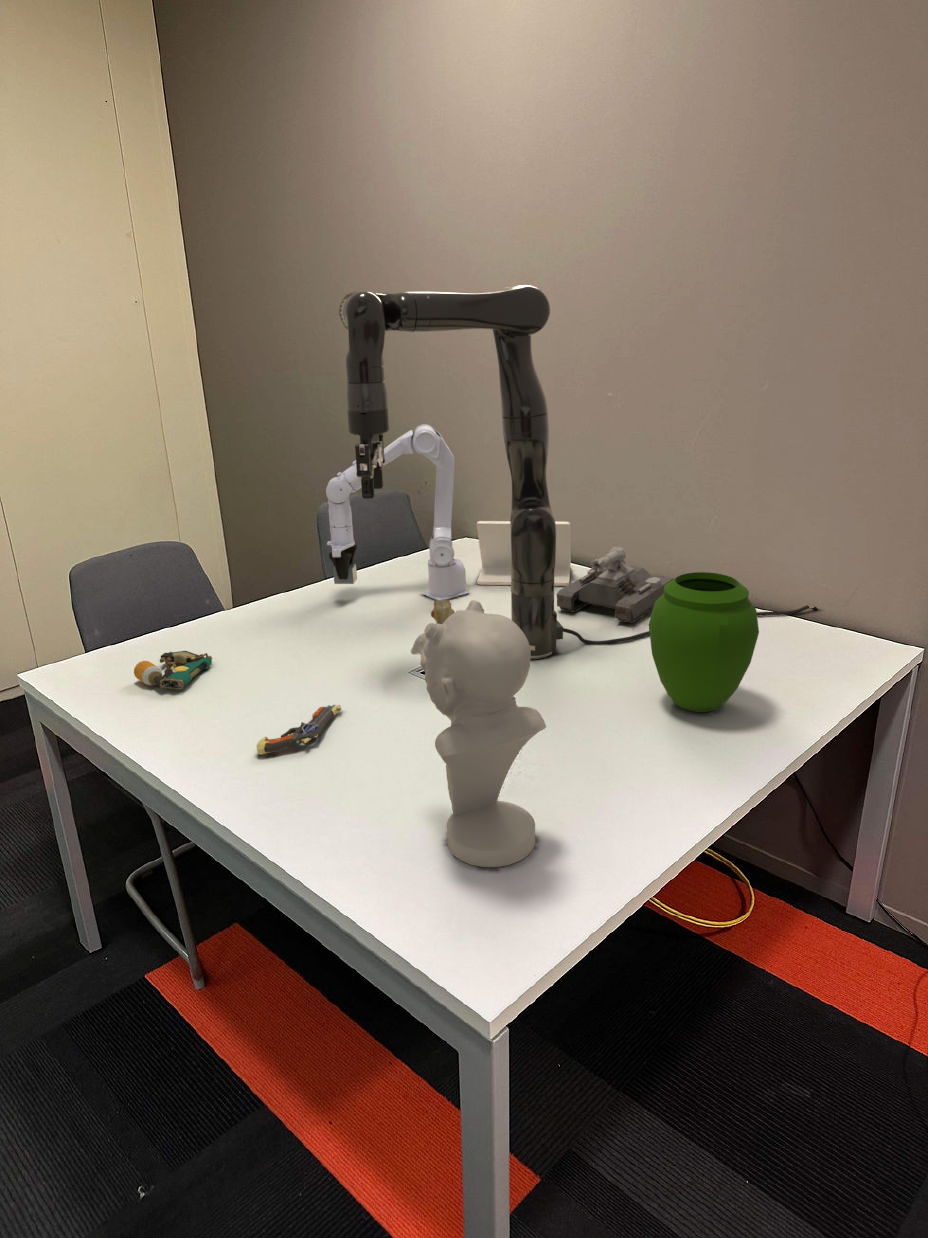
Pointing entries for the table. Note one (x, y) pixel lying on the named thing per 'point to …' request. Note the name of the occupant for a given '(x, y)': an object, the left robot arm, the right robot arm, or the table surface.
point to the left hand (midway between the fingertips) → (345, 576)
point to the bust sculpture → (481, 729)
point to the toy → (614, 588)
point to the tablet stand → (498, 553)
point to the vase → (702, 638)
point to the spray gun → (172, 669)
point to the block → (351, 575)
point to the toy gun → (299, 731)
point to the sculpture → (441, 611)
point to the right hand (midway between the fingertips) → (373, 493)
